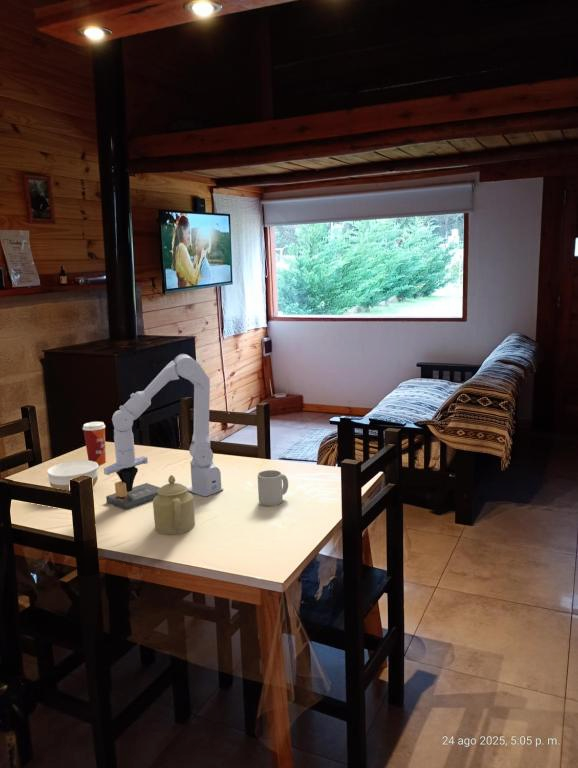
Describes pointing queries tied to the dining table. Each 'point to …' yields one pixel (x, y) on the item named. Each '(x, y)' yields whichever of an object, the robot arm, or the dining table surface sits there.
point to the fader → (120, 489)
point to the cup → (271, 487)
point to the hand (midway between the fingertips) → (128, 490)
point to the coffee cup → (95, 441)
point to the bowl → (71, 472)
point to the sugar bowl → (173, 509)
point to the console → (134, 496)
